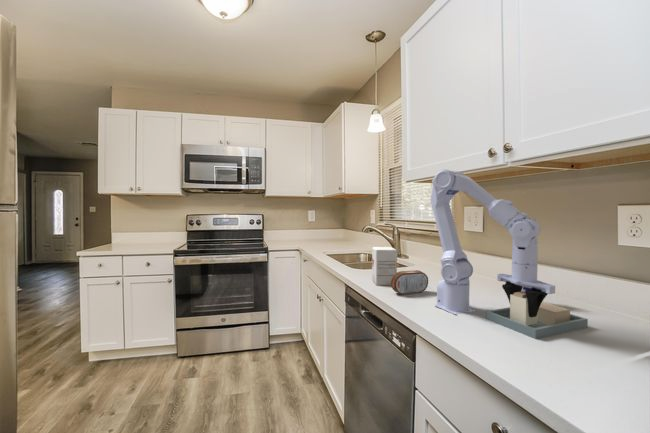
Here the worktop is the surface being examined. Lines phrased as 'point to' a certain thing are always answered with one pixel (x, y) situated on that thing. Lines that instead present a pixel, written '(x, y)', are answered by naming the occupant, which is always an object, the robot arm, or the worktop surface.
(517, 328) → the tray
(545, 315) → the tan stepped block
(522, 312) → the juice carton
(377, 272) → the supplement box
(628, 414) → the worktop surface
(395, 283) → the tin
